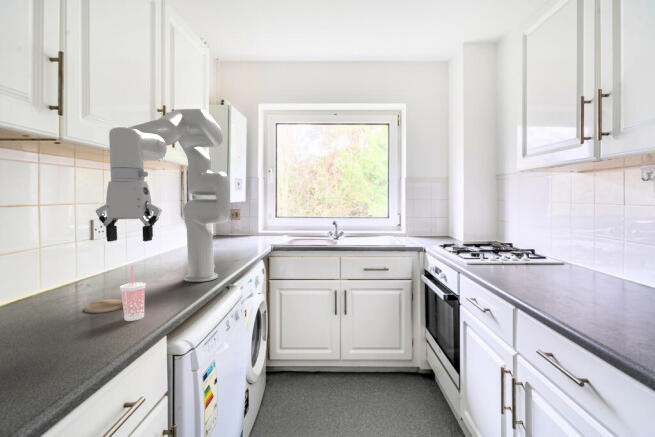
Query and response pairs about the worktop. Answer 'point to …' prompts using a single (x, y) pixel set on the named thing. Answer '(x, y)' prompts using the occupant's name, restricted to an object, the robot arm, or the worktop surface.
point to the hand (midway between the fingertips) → (129, 240)
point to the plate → (104, 306)
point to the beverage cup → (133, 299)
